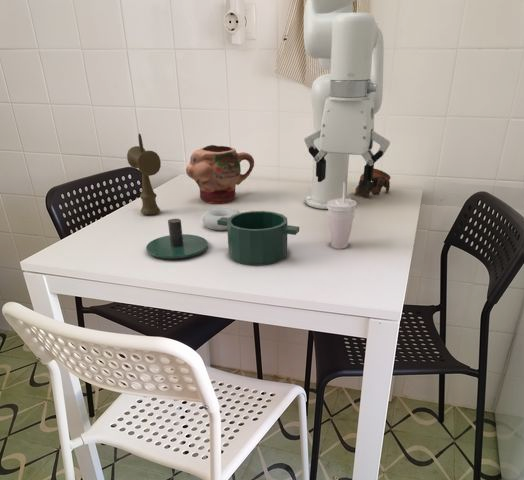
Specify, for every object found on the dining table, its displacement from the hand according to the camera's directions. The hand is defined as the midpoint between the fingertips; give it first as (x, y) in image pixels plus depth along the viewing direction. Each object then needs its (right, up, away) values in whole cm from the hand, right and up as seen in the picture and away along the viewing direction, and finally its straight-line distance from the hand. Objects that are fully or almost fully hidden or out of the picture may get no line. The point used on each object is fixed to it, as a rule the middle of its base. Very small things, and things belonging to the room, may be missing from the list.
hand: (343, 182), depth 105 cm
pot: (-18, -14, +5) cm, 23 cm away
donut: (-27, -4, +21) cm, 34 cm away
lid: (-36, -12, +8) cm, 39 cm away
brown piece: (+15, +10, +41) cm, 45 cm away
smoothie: (0, -12, +8) cm, 14 cm away
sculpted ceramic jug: (-28, +9, +41) cm, 51 cm away
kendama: (-47, +2, +31) cm, 56 cm away
